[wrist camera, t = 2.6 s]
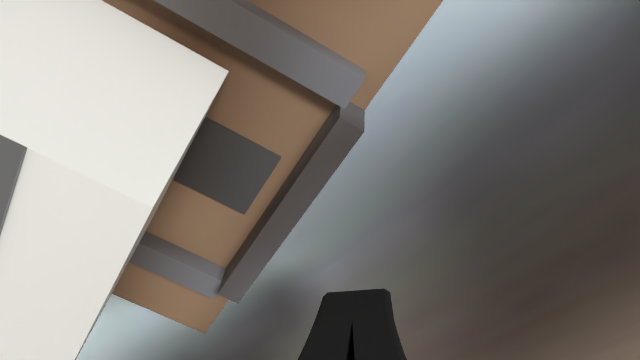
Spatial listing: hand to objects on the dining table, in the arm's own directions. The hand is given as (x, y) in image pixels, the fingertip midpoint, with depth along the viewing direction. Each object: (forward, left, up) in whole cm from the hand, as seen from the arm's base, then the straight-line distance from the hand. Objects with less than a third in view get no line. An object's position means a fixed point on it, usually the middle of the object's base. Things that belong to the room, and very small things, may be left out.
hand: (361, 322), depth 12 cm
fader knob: (+7, 0, -3) cm, 7 cm away
